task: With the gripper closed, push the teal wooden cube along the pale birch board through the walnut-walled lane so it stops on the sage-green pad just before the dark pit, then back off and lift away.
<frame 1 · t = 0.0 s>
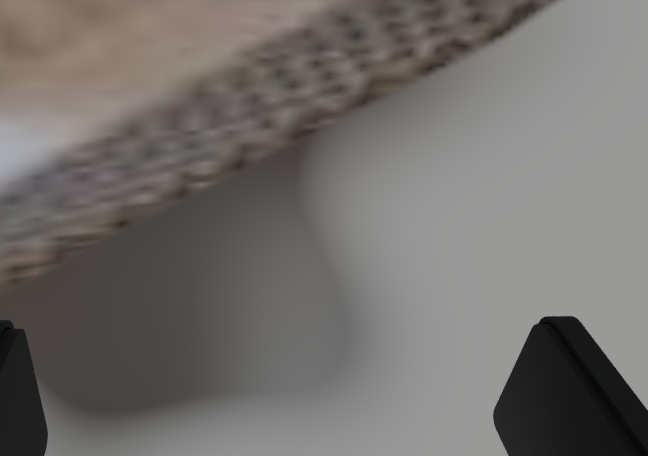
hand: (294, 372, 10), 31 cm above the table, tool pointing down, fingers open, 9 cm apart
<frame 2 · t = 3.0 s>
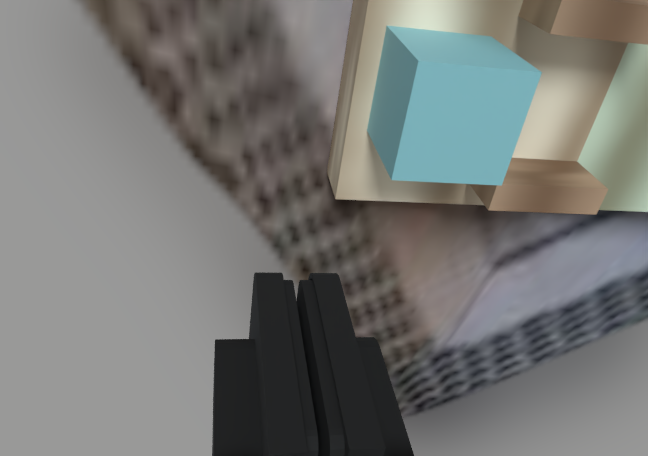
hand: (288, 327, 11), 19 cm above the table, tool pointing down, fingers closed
teal cube: (426, 84, 26), point 3 cm above the table, touching route board
route board: (581, 80, 30), on the table
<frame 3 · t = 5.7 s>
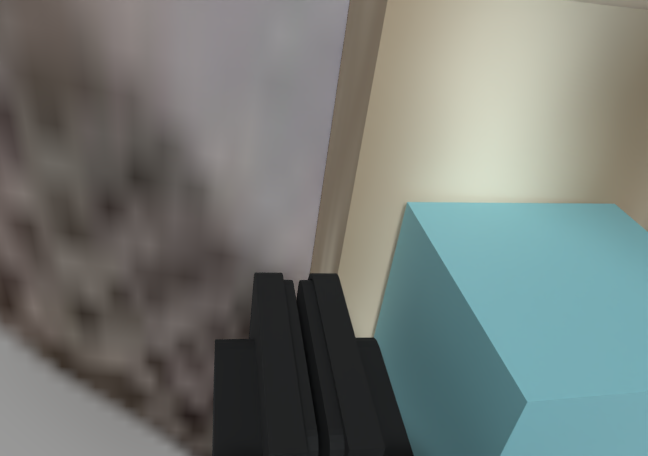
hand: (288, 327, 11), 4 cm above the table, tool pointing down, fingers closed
teal cube: (482, 291, 13), point 3 cm above the table, touching gripper, route board
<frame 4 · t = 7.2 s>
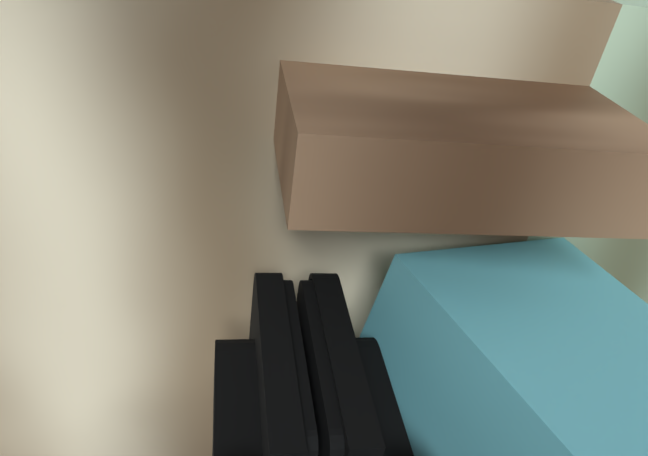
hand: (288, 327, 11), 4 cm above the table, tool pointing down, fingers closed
teal cube: (442, 331, 13), point 4 cm above the table, tilted 20°, touching gripper
route board: (481, 218, 16), on the table
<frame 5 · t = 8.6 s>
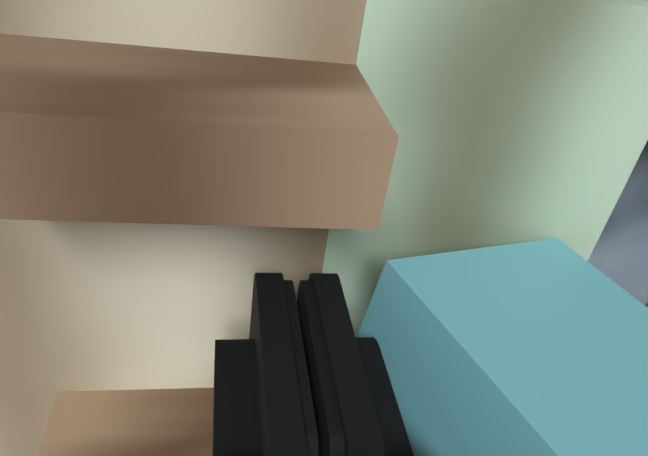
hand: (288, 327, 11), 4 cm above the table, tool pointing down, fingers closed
teal cube: (439, 333, 13), point 4 cm above the table, tilted 20°, touching gripper, route board
route board: (323, 211, 15), on the table
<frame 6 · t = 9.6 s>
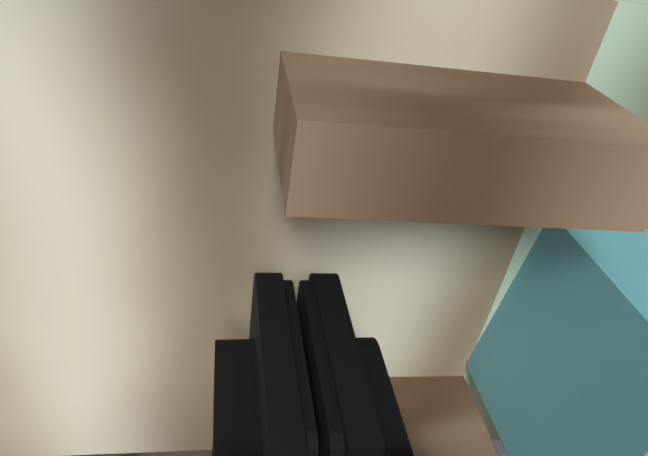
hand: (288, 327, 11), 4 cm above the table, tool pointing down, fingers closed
teal cube: (587, 304, 14), point 3 cm above the table, touching route board
route board: (477, 214, 16), on the table
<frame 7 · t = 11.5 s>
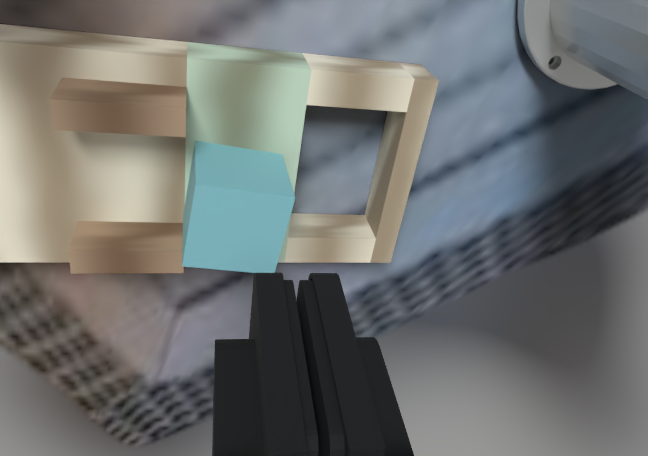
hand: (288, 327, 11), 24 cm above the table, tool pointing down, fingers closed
teal cube: (231, 185, 32), point 3 cm above the table, touching route board
route board: (193, 149, 34), on the table
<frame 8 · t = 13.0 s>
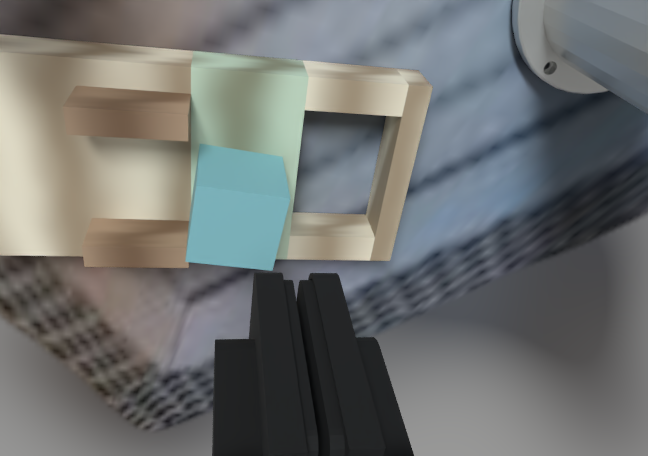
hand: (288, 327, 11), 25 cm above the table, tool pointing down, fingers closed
teal cube: (235, 185, 34), point 3 cm above the table, touching route board
route board: (201, 151, 36), on the table
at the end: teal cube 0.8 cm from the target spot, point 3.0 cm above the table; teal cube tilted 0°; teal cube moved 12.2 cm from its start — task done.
